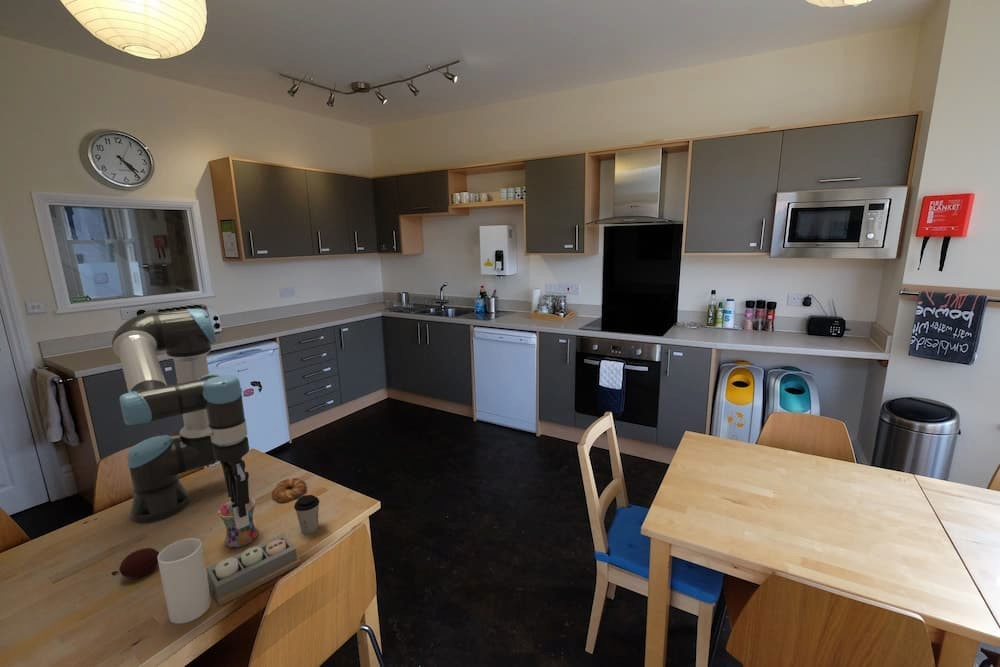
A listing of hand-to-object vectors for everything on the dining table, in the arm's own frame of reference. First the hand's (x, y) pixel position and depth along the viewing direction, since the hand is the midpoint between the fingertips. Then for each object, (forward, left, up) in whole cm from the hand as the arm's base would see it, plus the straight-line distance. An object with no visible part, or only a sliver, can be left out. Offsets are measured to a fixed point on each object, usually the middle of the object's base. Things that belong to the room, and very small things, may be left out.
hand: (242, 525), depth 112 cm
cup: (+2, -13, -14) cm, 20 cm away
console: (0, +1, -14) cm, 14 cm away
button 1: (0, -5, -12) cm, 13 cm away
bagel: (-31, +22, -15) cm, 41 cm away
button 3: (0, +7, -13) cm, 14 cm away
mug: (-18, +3, -14) cm, 23 cm away
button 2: (0, +1, -12) cm, 12 cm away
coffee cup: (-7, +18, -14) cm, 24 cm away
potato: (-22, -20, -15) cm, 33 cm away
